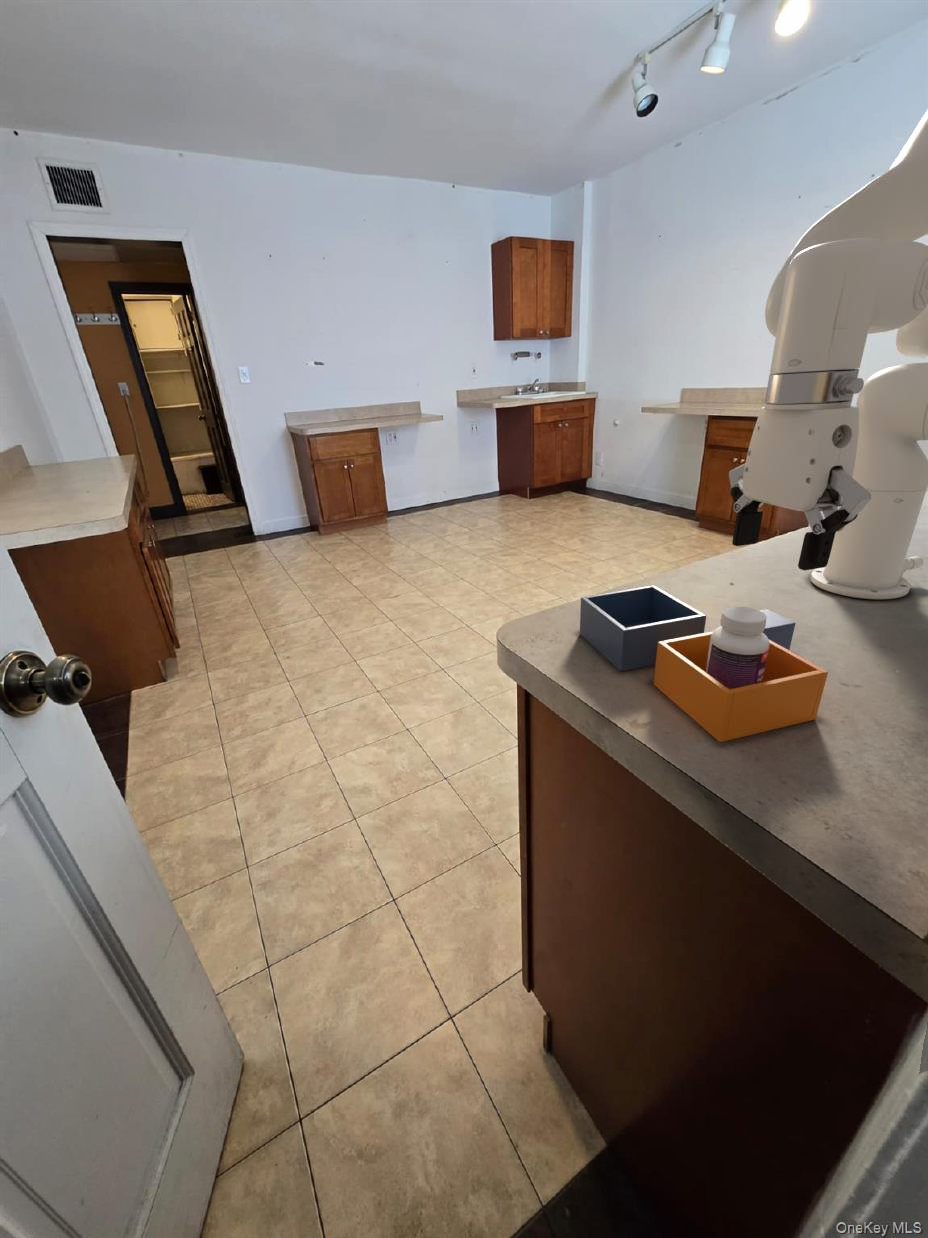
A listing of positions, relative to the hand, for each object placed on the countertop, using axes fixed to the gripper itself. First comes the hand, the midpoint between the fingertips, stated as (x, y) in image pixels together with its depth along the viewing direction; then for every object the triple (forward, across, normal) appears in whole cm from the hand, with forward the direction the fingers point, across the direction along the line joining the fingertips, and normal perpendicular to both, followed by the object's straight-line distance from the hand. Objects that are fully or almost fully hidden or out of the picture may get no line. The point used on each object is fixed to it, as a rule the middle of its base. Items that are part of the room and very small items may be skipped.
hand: (775, 555), depth 59 cm
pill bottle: (+13, -7, +10) cm, 18 cm away
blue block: (+13, +1, -1) cm, 13 cm away
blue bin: (+13, +8, +12) cm, 19 cm away
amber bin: (+13, -7, +10) cm, 18 cm away
